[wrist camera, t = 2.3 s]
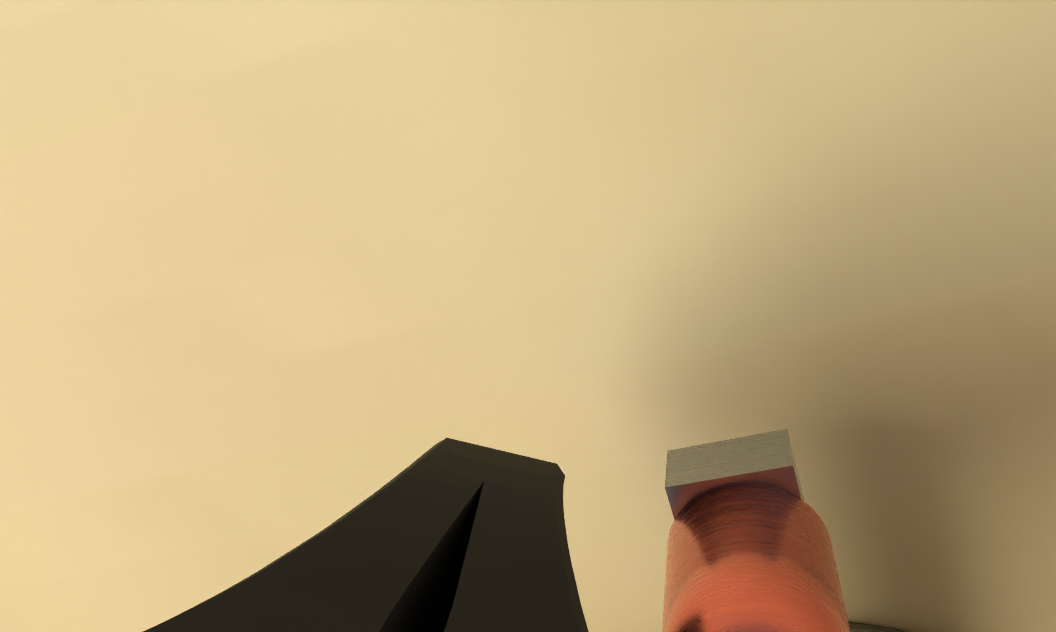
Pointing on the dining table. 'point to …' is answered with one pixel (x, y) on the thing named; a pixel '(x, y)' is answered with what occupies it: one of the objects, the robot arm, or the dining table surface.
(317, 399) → the dining table surface
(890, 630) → the crank hub
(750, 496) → the crank
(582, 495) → the dining table surface
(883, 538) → the dining table surface
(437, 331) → the dining table surface
